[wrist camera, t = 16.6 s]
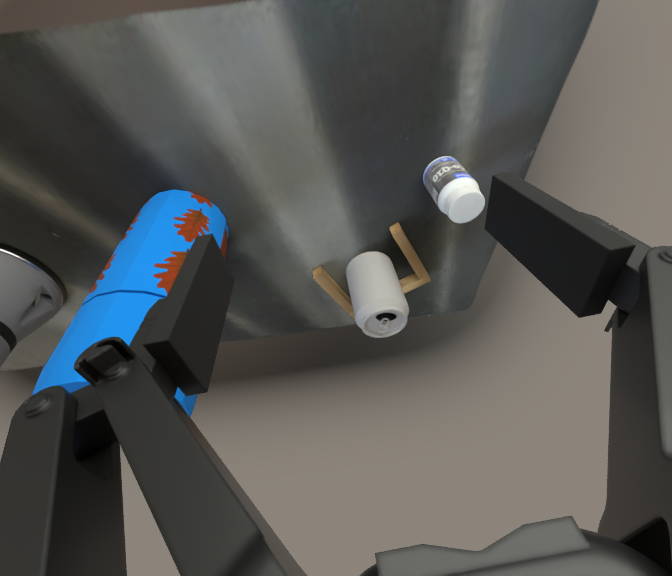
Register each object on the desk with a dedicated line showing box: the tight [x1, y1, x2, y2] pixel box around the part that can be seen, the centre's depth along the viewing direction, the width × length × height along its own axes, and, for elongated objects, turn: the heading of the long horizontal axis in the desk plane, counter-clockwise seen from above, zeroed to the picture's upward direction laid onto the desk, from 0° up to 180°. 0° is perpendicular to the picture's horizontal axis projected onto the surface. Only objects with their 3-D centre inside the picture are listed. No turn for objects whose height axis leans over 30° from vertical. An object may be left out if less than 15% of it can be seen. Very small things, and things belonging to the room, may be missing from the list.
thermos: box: [32, 190, 229, 417], centre depth 32 cm, size 11×11×25 cm
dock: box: [313, 223, 431, 318], centre depth 50 cm, size 15×12×2 cm
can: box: [346, 252, 409, 338], centre depth 46 cm, size 8×8×12 cm
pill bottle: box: [423, 156, 485, 223], centre depth 37 cm, size 5×5×8 cm
